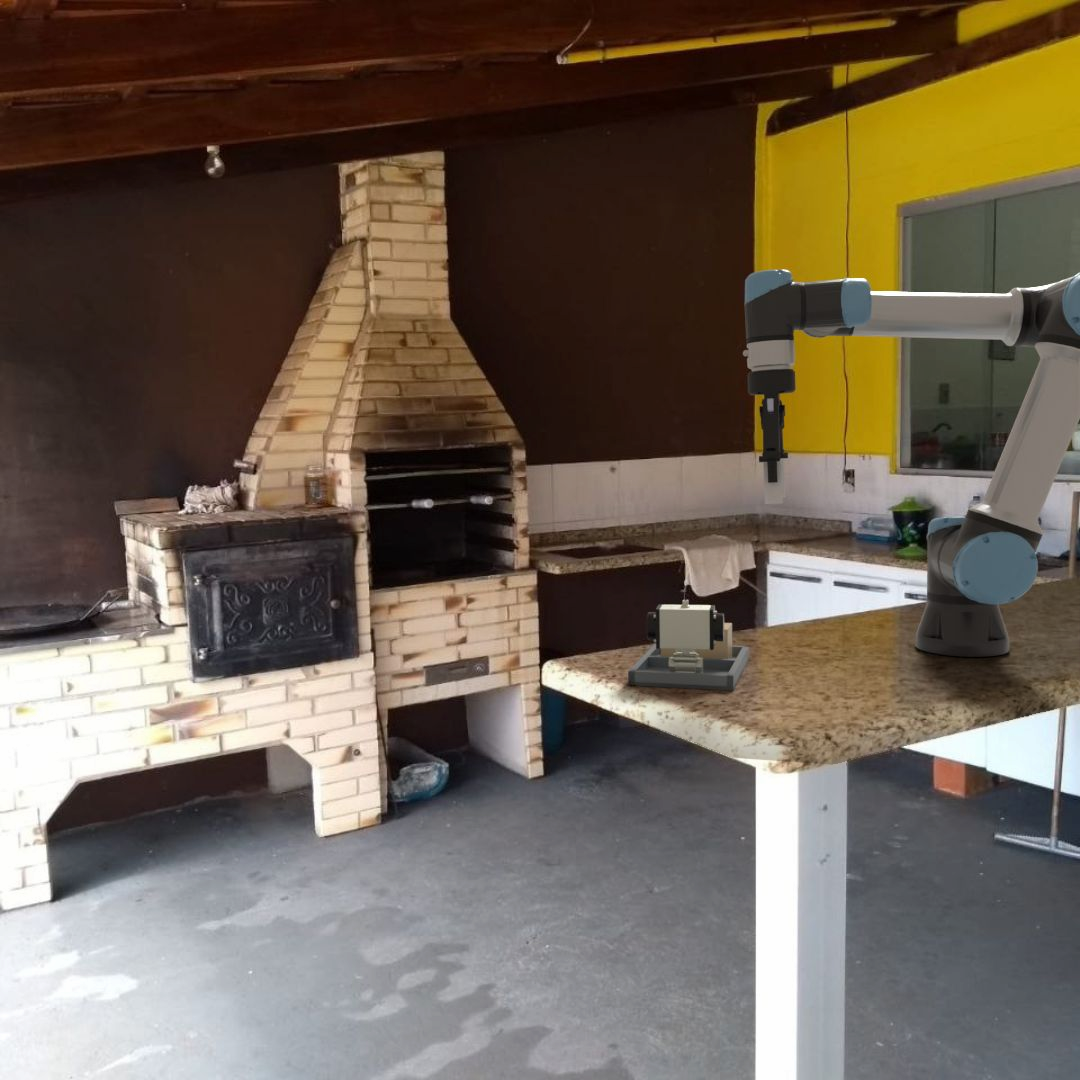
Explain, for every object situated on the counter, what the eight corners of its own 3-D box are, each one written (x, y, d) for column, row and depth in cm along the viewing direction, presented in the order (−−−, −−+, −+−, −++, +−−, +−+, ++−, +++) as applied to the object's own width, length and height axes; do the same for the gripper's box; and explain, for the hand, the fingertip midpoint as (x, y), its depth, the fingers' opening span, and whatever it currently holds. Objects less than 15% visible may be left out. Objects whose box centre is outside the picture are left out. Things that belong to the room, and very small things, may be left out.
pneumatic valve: (723, 680, 161) (723, 602, 160) (647, 678, 163) (646, 601, 162) (724, 672, 166) (724, 597, 165) (650, 670, 169) (650, 596, 167)
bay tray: (749, 658, 179) (749, 620, 178) (733, 690, 157) (733, 647, 156) (656, 654, 183) (655, 617, 183) (628, 685, 161) (627, 643, 161)
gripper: (752, 374, 182) (756, 496, 184) (741, 366, 158) (747, 507, 160) (796, 371, 180) (800, 494, 182) (792, 363, 156) (797, 505, 158)
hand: (775, 500), depth 171 cm, fingers open, 13 cm apart
